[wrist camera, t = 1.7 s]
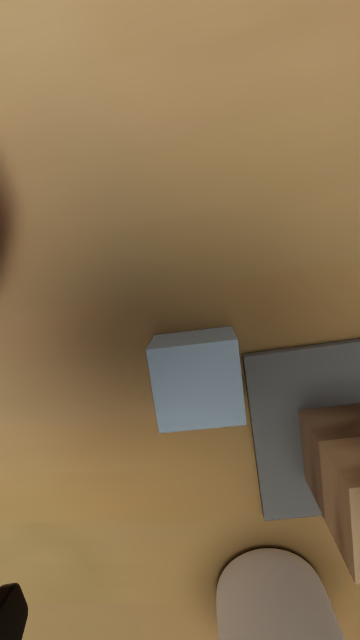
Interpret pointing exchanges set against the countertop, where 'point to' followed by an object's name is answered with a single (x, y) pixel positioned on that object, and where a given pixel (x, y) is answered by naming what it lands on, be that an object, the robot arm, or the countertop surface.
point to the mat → (294, 415)
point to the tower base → (324, 439)
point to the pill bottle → (273, 599)
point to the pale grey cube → (196, 380)
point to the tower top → (343, 497)
